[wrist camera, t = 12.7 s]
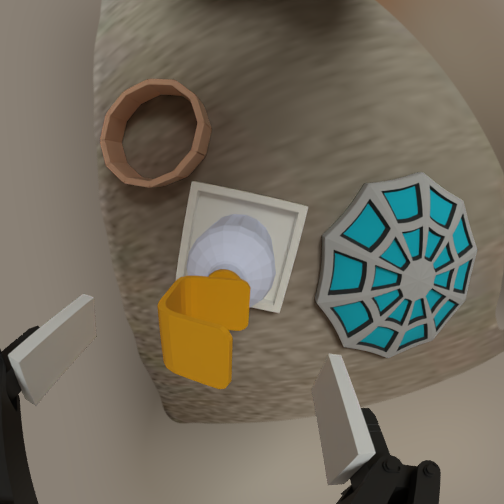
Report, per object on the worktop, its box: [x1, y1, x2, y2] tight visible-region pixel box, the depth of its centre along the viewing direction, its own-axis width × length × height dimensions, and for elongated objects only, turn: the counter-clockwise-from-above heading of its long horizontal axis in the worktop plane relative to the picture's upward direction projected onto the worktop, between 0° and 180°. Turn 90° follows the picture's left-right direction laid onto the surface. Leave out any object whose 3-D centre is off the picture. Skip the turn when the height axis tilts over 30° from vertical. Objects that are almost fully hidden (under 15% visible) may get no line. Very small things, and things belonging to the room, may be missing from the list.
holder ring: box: [100, 79, 212, 187], centre depth 32 cm, size 14×14×5 cm
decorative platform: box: [315, 172, 477, 358], centre depth 36 cm, size 31×29×5 cm
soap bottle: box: [158, 214, 276, 389], centre depth 25 cm, size 9×9×25 cm
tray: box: [176, 181, 308, 313], centre depth 37 cm, size 15×15×2 cm
